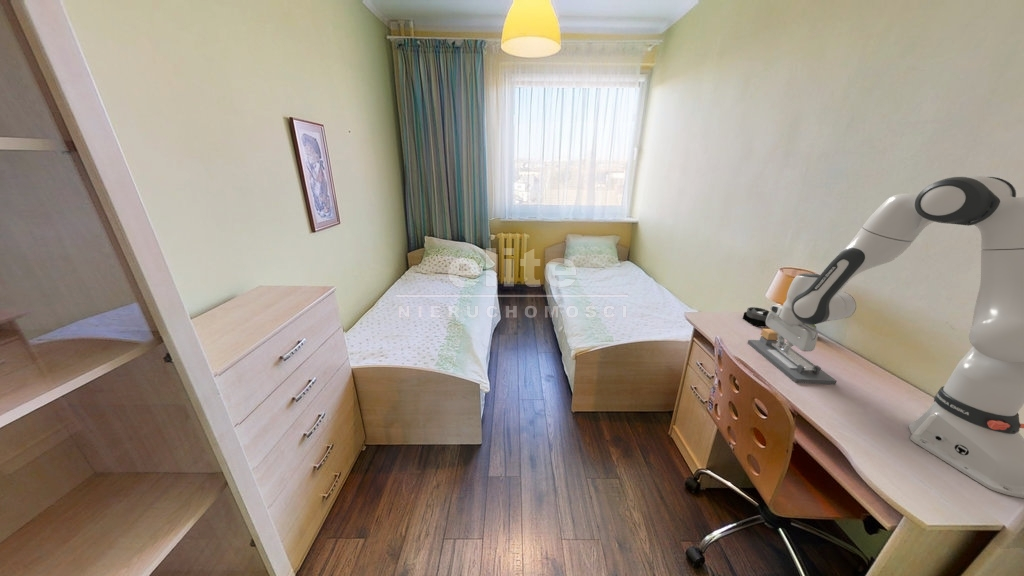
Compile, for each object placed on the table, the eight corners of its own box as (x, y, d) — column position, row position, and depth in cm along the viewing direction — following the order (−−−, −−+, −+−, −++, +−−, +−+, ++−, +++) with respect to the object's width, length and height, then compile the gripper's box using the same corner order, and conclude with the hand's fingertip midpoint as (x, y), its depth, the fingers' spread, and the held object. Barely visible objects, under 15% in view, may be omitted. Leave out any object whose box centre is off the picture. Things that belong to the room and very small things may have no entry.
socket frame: (835, 384, 109) (839, 374, 108) (795, 382, 110) (799, 372, 108) (780, 344, 133) (783, 335, 132) (747, 342, 134) (750, 334, 132)
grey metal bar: (815, 372, 112) (816, 368, 111) (803, 371, 112) (805, 368, 111) (780, 345, 127) (782, 342, 127) (770, 345, 127) (772, 342, 127)
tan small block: (777, 340, 129) (779, 333, 128) (767, 339, 129) (769, 333, 128) (770, 335, 133) (772, 329, 132) (760, 334, 133) (762, 328, 132)
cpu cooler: (742, 306, 155) (762, 306, 155) (739, 317, 157) (759, 317, 157) (758, 316, 145) (780, 316, 146) (754, 327, 147) (776, 327, 148)
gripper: (828, 330, 109) (813, 364, 114) (784, 304, 128) (773, 335, 133) (809, 329, 109) (794, 363, 114) (767, 303, 128) (757, 334, 133)
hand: (782, 348), depth 124 cm, fingers closed on grey metal bar
